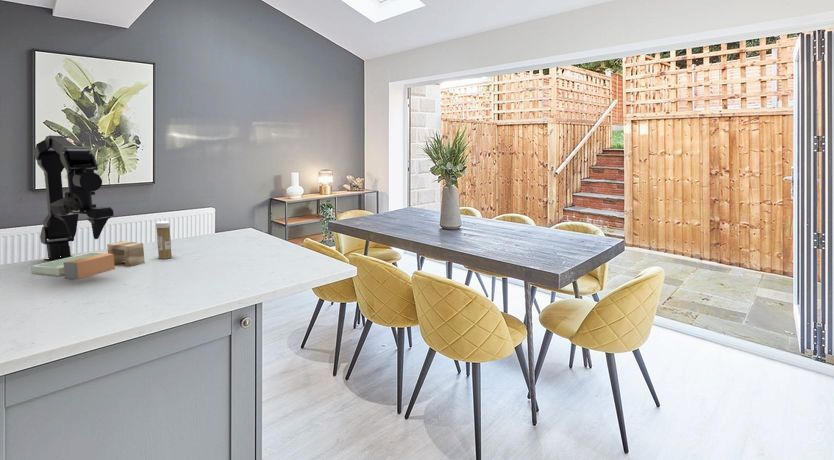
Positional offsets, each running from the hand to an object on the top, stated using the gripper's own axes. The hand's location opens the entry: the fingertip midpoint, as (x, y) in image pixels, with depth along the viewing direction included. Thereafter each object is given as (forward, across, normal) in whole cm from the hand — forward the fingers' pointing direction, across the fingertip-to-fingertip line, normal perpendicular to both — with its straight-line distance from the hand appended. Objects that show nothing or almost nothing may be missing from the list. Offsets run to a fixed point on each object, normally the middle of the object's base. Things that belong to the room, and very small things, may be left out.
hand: (84, 237), depth 146 cm
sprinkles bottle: (+12, +6, +26) cm, 29 cm away
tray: (+12, -11, +5) cm, 17 cm away
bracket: (+12, 0, +15) cm, 19 cm away
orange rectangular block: (+12, 0, +1) cm, 12 cm away
